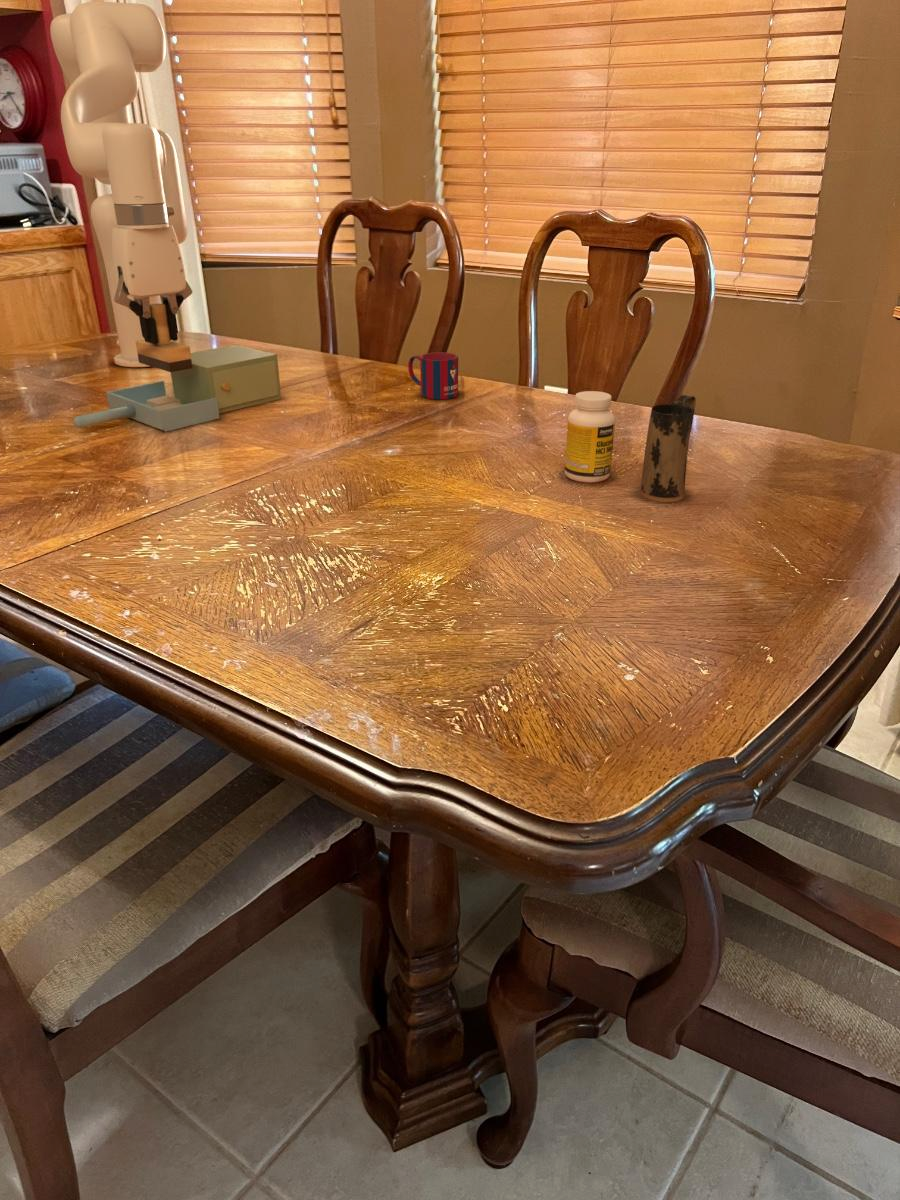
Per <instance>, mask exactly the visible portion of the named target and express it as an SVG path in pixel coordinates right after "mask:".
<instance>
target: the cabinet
mask: <svg viewBox="0 0 900 1200" xmlns="http://www.w3.org/2000/svg"><path fill="white" fill-rule="evenodd" d="M190 353H191V360H192V367H193V368H191V369H186V370H181V371H176V372H170V377H171V383H172V389H173V390H172V391H173V396H174V397H173V398H176V399H179V400H180V403H182V404H189V403H194V402H198V401H203V400H207V399H212V398H217V403H218V410H219V415H221V414H225V413H228V412H232V411H235V410H241V409H244V408H248V407H249V408H250V407H253V406H257V405H261V404H265V403H270V402H274V401H279V400H282V391H281V390H282V389H281V383H280V381H281V380H280V372H279V370H280V369H279V360H278V354H277V353H273V352H269V351H264V350H260V349H256V348H253V347H248V346H244V345H240V344H233V345H228V346H223V347H217V348H216V347H215V348H212V349H211V348H210V349H207V350H201V351H200V350H199V351H195V352H190Z"/></svg>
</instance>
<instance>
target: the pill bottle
mask: <svg viewBox="0 0 900 1200" xmlns="http://www.w3.org/2000/svg"><path fill="white" fill-rule="evenodd" d="M574 398H575V399H574V406H575V409H573V410H571V412H570V413H569V414H568V415H567V416H568V417H567V424H566V425H567V427H566V442H565V457H564V469H563V470H564V471H563V472H564V475H565V476H566V478H568V479H569V480H572V481H575V482H579V483H587V484H594V483H600V482H603V481H606V480H607V479H608V478H609V477H610V475H611V471H612V470H611V468H612V460H613V459H612V458H613V450H614V438H615V437H614V436H615V429H616V417H615V415H614V413H613V412H612V411H610V410H609V409H610V408H611V406H612V400H613V399H612V395H611V394H610V393H607V392H604V391H598V390H597V391H594V390H586V391H579V392H576V393H575V396H574Z"/></svg>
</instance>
